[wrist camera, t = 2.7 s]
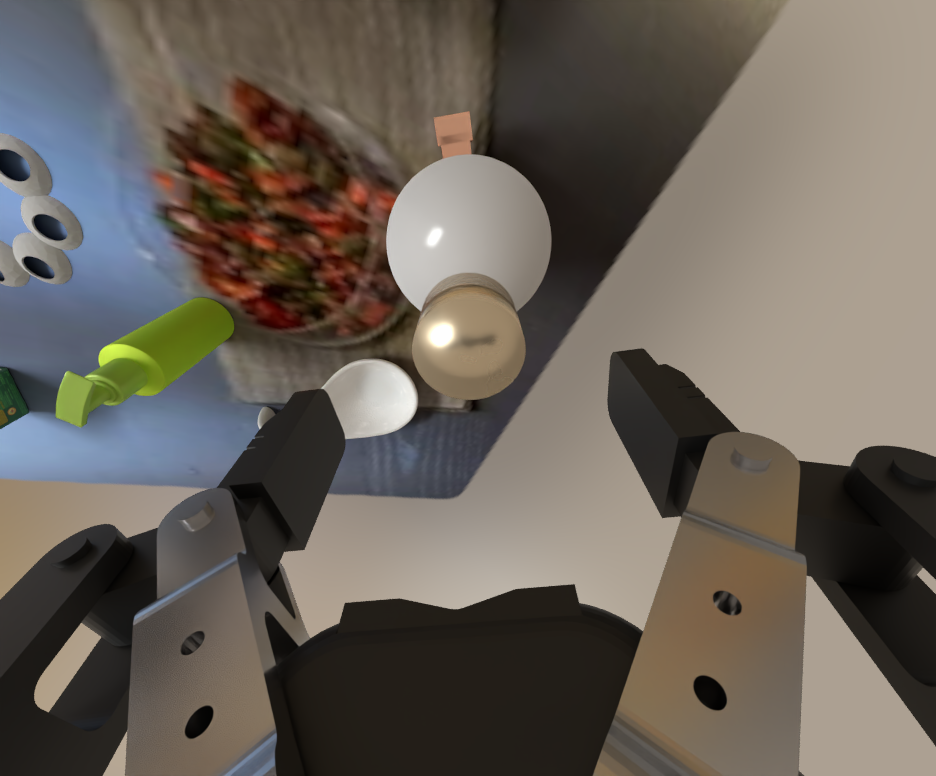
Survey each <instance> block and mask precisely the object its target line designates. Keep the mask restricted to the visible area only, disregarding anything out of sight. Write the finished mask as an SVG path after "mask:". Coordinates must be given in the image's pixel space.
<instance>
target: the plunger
mask: <svg viewBox="0 0 936 776" xmlns="http://www.w3.org/2000/svg"><path fill="white" fill-rule="evenodd" d="M525 353H526V346H525V339H524V335H523V332H522V329H521V325H520V322H519V318H518V315H517V312H516V308H515V305H514V302H513V300H512V297H511V296H510V294H509V293H508V291H507V290H506V289H505V288H504V287H503V286H502V285H501V284H500V283H499V282H497V281H496V280H494V279H493V278H491V277H488V276H486V275H483V274H478V273H459V274H455V275H452V276H449V277H447V278H445V279H443V280H442V281H440V282H439V283H438V284H437V285H436V286H434V287H433V289H432V290H431V291H430V292H429V294H428V295H427V297H426V299H425V301H424V304H423V307H422V311H421V314H420V318H419V321H418V324H417V328H416V331H415V335H414V338H413V344H412V355H413V360H414V363H415V366H416V368H417V370H418V372H419V374H420V375H421V377H422V378H423V379H424V381H425V382H426V383H427V384H428V385H429V386H431V387H432V388H433V389H435V390H436V391H438V392H440V393H442V394H444V395H446V396H449V397H452V398H456V399H462V400H476V399H482V398H486V397H489V396H492V395H494V394H496V393H498V392H500V391H502V390H503V389H505V388H506V387H507V386H508V385H509V384H510V383H512V382H513V380H514V379H515V378H516V377H517V375H518V374H519V372H520V370H521V368H522V366H523V363H524V359H525Z"/></svg>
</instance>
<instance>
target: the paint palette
mask: <svg viewBox="0 0 936 776" xmlns="http://www.w3.org/2000/svg"><path fill="white" fill-rule="evenodd" d="M3 149H8V150H11V151H14V152H16V153H17V154H19V155H21V156H22V157H23V158H24V159H25V160H26V161H27V162H28V164H29V166H30V177H29V178H28V179H27V180H25V181H16V180H13V179H11V178H9V177H7V176H6V175H4V174H3V173H2V172H1V171H0V182H2V183H3V184H4V185H5V186H6V187H8V188H9V189H11V190H12V191H14V192H16V193H17V194H19V195H22V196H24V197H25V198H24V199H23V200H22V204H21V214H22V218H23V221H24V223H25V224H26V226H27V227H28V229H29V230H30V231H31V232H32V233H21V234H19V235H17V236H16V237H15V239H14V241H13V249H12V248H11V247H10V246H9V245H7V244H6V243H4V242H2V241H0V271H1V272H2V274H3V275H4V278H5V280H4V281H0V283H1V284H4V285H6V286H12V287H21V286H23V285H26V283H27V282H28V281H29V277H30V275H32V276H34V277H36V278H38V279H40V280H42V281H45V282H47V283H52V284H63V283H65V282H67V281H68V280H69V279H70V278H71V275H72V267H71V265H70V262H69V260H68V258H67V257H66V255H65V254H64V253H63V252H62V250H73V249H76V248H78V247H79V246H80V244H81V243H82V239H83V235H82V230H81V226H80V224H79V222H78V220H77V219H76V217H75V216H74V214H73V213H72V212H71V211H70V210H69V209H68V208H67V207H66V206H65V205H64V204H62V203H61V202H59V201H58V200H56V199H55V198H53V197H50V196H48V194H49V193H50V192H51V188H52V180H51V176H50V173H49V170H48V168H47V167H46V165H45V163H44V161H43V160H42V159H41V158H40V157H39V155H38V154H37V153H36V152H35V151H34V150H33V149H32V148H31V147H30V146H29V145H27V144H26V143H24V142H23V141H21V140H20V139H18V138H16V137H14V136H11V135H8V134H3V133H0V150H3ZM38 214H46V215H49V216H52V217H54V218H55V219H57V220H59V221H60V222H61V223H62V224H63V225H64V226H65V228H66V230H67V233H68V235H67V237H66V239H64V240H62V241H57V240H53V239H50V238H48V237H46V236H44V235H43V234H42V233H40V232H39V231H38V229H37V228H36V227H35V225H34V218H35V216H36V215H38ZM61 249H62V250H61ZM26 256H32V257H36V258H38V259H40V260H42V261H44V262H45V263H47V264H48V265H49V266H50V267H51V268H52V269H53V271H54V273H55V276H54V278H52V279H47V278H43V277H40V276H38V275H36V274H34V273H33V272H31V271H30V270H29V269H28V268H27V267H26V265H25V264H24V258H25V257H26ZM29 274H30V275H29Z"/></svg>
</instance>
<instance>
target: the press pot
mask: <svg viewBox="0 0 936 776" xmlns="http://www.w3.org/2000/svg"><path fill="white" fill-rule="evenodd" d="M434 122H435V129H436V135H437V141H438V146H441V148H442V155H443V159H442V160H439V161H437V162H434V163H432V164H431V165H429V166H427V167H426V168H424V169H422V170H421V171H420V172H419V173H418V174H416V175H415V176H414V177H413V178H412V179H411V180H410V181H409V182H408V183H407V185H406V186H405V187H404V188H403V190H402V191H401V193H400V194H399V196H398V198H397V200H396V202H395V204H394V206H393V209H392V212H391V215H390V218H389V222H388V228H387V239H386V243H387V254H388V260H389V264H390V267H391V270H392V274H393V276H394V278H395V280H396V282H397V284H398V286H399V287H400V289H401V291H402V292H403V293H404V295H405V296H406V297H407V298H408V300H409V301H410V302H411V303H412V304H413V305H414V306H415V307H416V308H418V309H419V310H420V311H422V307H423V304H424V301H425V299H426V297H427V295H428V294H429V292H430V291H431V290H432V289H433V287H434V286H436V285H437V284H438V283H439V282H440V281H442V280H443V279H445V278H447V277H449V276H452V275H455V274H459V273H478V274H483V275H486V276H488V277H491V278H493V279H494V280H496V281H497V282H499V283H500V284H501V285H502V286H503V287H504V288H505V289H506V290H507V291H508V293H509V294H510V296H511V297H512V300H513V302H514V305H515V308H516V311H518V310H519V309H520V308H521V307H523V306H524V305H525V304H526V303H527V302H528V300H529V299H530V298H531V297H532V296H533V294H534V293H535V292H536V290H537V289H538V287H539V285H540V284H541V282H542V280H543V278H544V275H545V273H546V270H547V267H548V263H549V259H550V253H551V228H550V223H549V218H548V215H547V212H546V209H545V206H544V204H543V202H542V200H541V198H540V196H539V194H538V193H537V191H536V190H535V189H534V187H533V186H532V184H531V183H530V182H529V181H528V180H527V179H526V178H525V177H524V176H523V175H522V174H520V173H519V172H518V171H517V170H515V169H514V168H512V167H511V166H509V165H507V164H505V163H504V162H501V161H499V160H496V159H494V158H491V157H487V156H482V155H472V154H471V146H470V142H472V141H473V138H472V129H471V121H470V112H469V111H468V112H463V113H457V114H452V115H446V116H440V117H435V118H434Z"/></svg>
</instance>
